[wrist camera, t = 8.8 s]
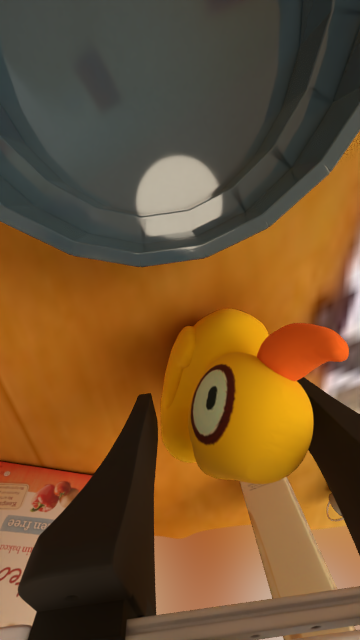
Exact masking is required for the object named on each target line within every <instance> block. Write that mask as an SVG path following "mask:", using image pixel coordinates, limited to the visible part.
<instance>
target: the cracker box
mask: <svg viewBox="0 0 360 640" xmlns="http://www.w3.org/2000/svg"><path fill="white" fill-rule="evenodd" d="M92 476H93V475H86V474H80V473H73V472H66V471H59V470H53V469H46V468H40V467H33V466H27V465H20V464H14V463H7V462H1V461H0V627H6V626H13V625H23V624H25V625H31V626H32V625H33V621H34V618H35V615H36V612H37V611H35V610H34V609H33V608H32V607H31V606H29V605H28V604H27V603H26V602H25V601H24V600H22V598H21V597H20V596H19V594H18V586H19V583H20V580H21V578H22V575H23V572H24V570H25V567H26V564H27V562H28V559H29V557H30V554H31V552H32V549H33V547H34V545H35V543H36V541H37V539H38V537H39V535H40V534H41V533H42V532H43V531H44V530H45V529H46V528H47V527H48V526H49V525H50V524H51V523H52V522H53V521H54V520H55V519H56V518H57V517H58V516H59V515H60V514H61V513H62V512H63V511H64V509H65V508H66V507H67V506H68V505H69V504H70V503H71V501H72V500H73V499H74V498H75V497H76V496H77V494H78V493H79V492H80V491H81V490H82V489H83V487H84V486H85V485H86V484H87V482H88V481H89V480H90V479H91V477H92Z"/></svg>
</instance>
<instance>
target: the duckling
mask: <svg viewBox="0 0 360 640" xmlns="http://www.w3.org/2000/svg"><path fill="white" fill-rule="evenodd" d="M348 355H349V348H348V345H347V343H346V342H345V341H344V339H343V338H342V337H341V336H340V335H339V334H337V333H336V332H335V331H333V330H331V329H329V328H326V327H322V326H318V325H314V324H306V323H293V324H289V325H286V326H284V327H282V328H280V329H279V330H277V331H275V332H273V333H272V334H270V335H269V334H268V331H267V330H266V328H265V326H264V325H263V324H262V323H261V322H260V321H259V320H258V319H256V318H255V317H253V316H251V315H249V314H247V313H245V312H242V311H240V310H236V309H229V308H228V309H221V310H217V311H215V312H213V313H211V314H209V315H207V316H205V317H204V318H202V319H201V320H199V321H198V322H197V323H196V324H195V325H194V326H186V327H185V328H183V329H182V330H181V332H180V333H179V335H178V337H177V339H176V341H175V343H174V345H173V348H172V350H171V353H170V357H169V361H168V364H167V368H166V373H165V378H164V384H163V392H162V396H161V404H160V412H161V435H162V440H163V443H164V445H165V447H166V448H167V450H168V451H169V453H170V454H171V455H172V456H173V457H174V458H176V459H178V460H180V461H182V462H188V463H194V462H197V464H198V466H199V467H200V469H201V470H202V471H203V472H204V473H205V474H207V475H209V476H211V477H214V478H217V479H224V480H236V481H241V482H247V483H253V484H269V483H273V482H276V481H279V480H281V479H283V478H285V477H287V476H288V475H290V474H291V473H292V472H293V471H294V470H295V469H296V468H297V467H298V466H299V465H300V463H301V462H302V461H303V459H304V457H305V455H306V453H307V451H308V449H309V446H310V443H311V440H312V435H313V425H314V421H313V410H312V406H311V403H310V400H309V398H308V396H307V394H306V392H305V390H304V389H303V388H302V386H301V385H300V384H299V383H298V382H297V380H299V379H301V378H303V377H304V376H306V375H307V374H308V373H310V372H311V371H312V370H314V369H315V368H316V367H318V366H319V365H321V364H323V363H325V362H328V361H334V362H341V361H344V360H346V359H347V357H348Z"/></svg>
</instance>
